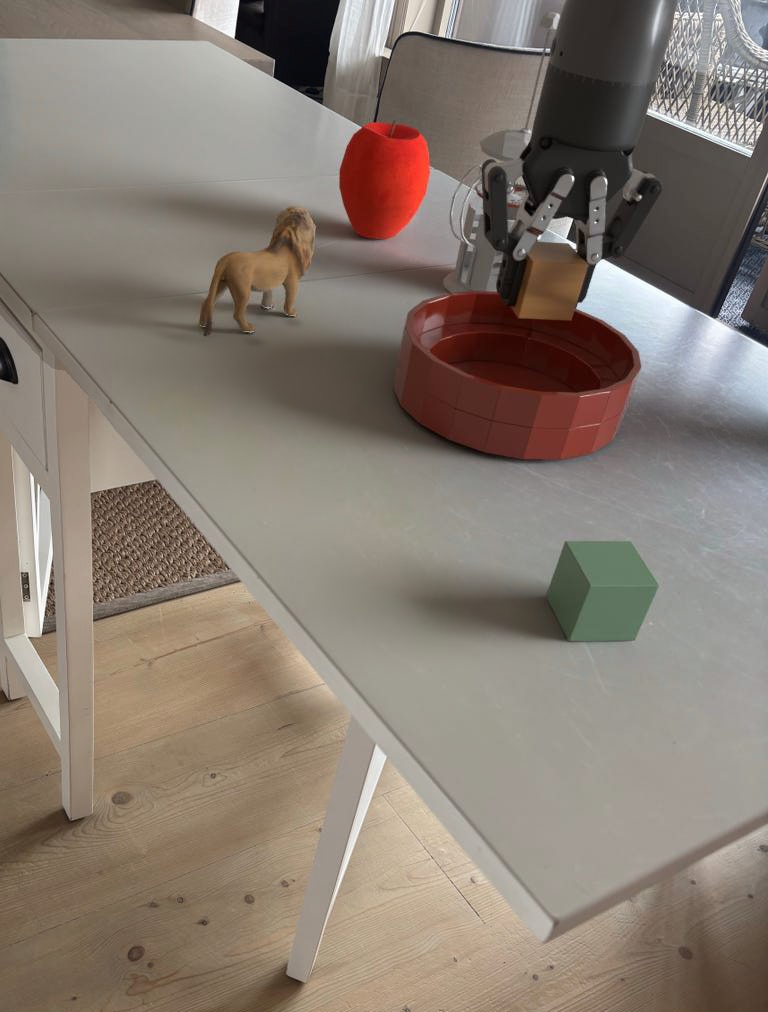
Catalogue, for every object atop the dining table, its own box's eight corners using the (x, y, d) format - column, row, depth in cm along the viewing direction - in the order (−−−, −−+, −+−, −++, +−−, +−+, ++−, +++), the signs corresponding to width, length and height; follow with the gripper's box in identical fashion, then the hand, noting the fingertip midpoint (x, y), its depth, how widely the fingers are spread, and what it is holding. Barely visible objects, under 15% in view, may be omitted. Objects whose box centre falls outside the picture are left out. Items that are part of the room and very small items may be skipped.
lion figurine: (277, 289, 97) (285, 195, 91) (321, 306, 95) (332, 211, 89) (182, 333, 88) (185, 231, 82) (229, 352, 86) (235, 250, 80)
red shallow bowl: (572, 357, 92) (591, 295, 88) (652, 467, 78) (679, 399, 74) (374, 350, 89) (385, 286, 85) (421, 463, 75) (436, 392, 71)
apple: (364, 257, 106) (382, 136, 98) (314, 226, 112) (327, 109, 104) (434, 247, 111) (457, 130, 103) (383, 217, 117) (400, 104, 109)
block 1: (553, 297, 81) (568, 243, 78) (571, 321, 78) (588, 264, 75) (501, 295, 80) (515, 239, 77) (517, 318, 77) (533, 261, 74)
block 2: (609, 595, 65) (631, 540, 62) (635, 640, 61) (660, 585, 58) (545, 596, 64) (564, 540, 61) (568, 641, 61) (589, 585, 58)
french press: (554, 300, 102) (632, 23, 85) (468, 315, 97) (533, 24, 80) (494, 265, 108) (556, 0, 91) (410, 278, 103) (460, 0, 86)
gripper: (522, 68, 63) (464, 320, 75) (723, 86, 66) (637, 328, 77) (490, 43, 69) (441, 281, 80) (676, 60, 71) (603, 289, 82)
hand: (537, 303), depth 78 cm, fingers closed on block 1, 4 cm apart
